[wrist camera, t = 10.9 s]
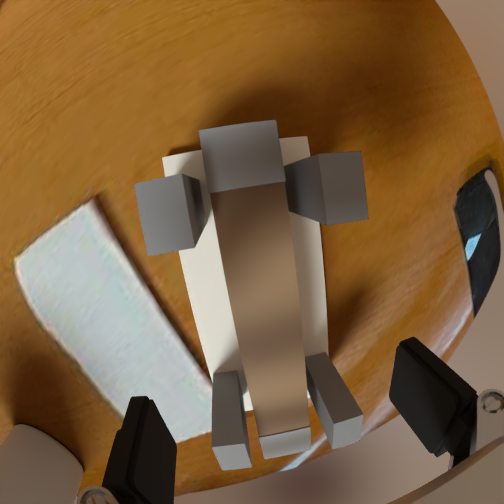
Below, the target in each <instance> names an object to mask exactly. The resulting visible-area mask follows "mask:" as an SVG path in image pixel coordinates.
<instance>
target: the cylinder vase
mask: <svg viewBox="0 0 504 504" xmlns="http://www.w3.org/2000/svg"><path fill="white" fill-rule="evenodd" d="M83 474H84V472H83V468H82V466H81V464H80V463H79V461H78V460H77V459H76V458H75V456H74V455H73V454H72V453H71V452H70V451H69V450H67V449H66V448H65V447H64V446H63V445H61V444H60V443H59V442H58V441H56V440H55V439H53V438H52V437H50V436H49V435H47V434H46V433H44V432H42V431H40V430H38V429H36V428H34V427H31V426H28V425H24V424H18V425H15V426H14V427H13V428H12V430H11V431H10V433H9V435H8V436H7V438H6V439H5V441H4V442H3V444H2V445H1V447H0V504H74V501H75V498H76V495H77V492H78V489H79V487H80V484H81V481H82V478H83Z"/></svg>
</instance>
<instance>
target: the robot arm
mask: <svg viewBox="0 0 504 504" xmlns="http://www.w3.org/2000/svg"><path fill="white" fill-rule="evenodd" d="M476 393H477V392H476V391H475V390H474V389H473V388H472V387H471V386H470V385H469V384H468V383H467V382H465V381H464V380H463V379H462V378H461V377H460V376H459V375H458V374H457V373H455V372H454V371H453V370H452V369H451V368H450V367H449V366H448V365H446V364H445V363H444V362H443V361H442V360H441V359H440V358H438V357H437V356H436V355H435V354H434V353H433V352H432V351H430V350H429V349H428V348H427V347H426V346H425V345H423V344H422V343H421V342H420V341H419V340H418V339H416V338H415V337H411V338H408V339H406V340H403V341H401V342H400V343H399V346H398V347H397V349H396V355H395V362H394V368H393V375H392V380H391V386H390V391H389V398H390V401H391V402H392V403H393V405H394V406H395V407H396V409H397V410H398V411H399V413H400V414H401V415H402V417H403V418H404V419H405V421H406V422H407V423H408V425H409V426H410V427H411V429H412V430H413V431H414V433H415V434H416V435H417V437H418V438H419V439H420V440H421V442H422V443H423V445H424V446H425V447H426V449H427V450H428V451H429V452H430V453H434V454H435V456H436V457H439V456H440V455H442V454H443V453H445V452H447V451H448V452H449V453H450V461H449V467H448V471H447V472H445V473H444V474H442V475H440V476H439V477H437V478H435V479H434V480H432V481H430V482H429V483H427V484H425V485H423V486H422V487H420V488H418V489H416V490H414V491H412V492H410V493H409V494H406V495H405V496H403V497H401V498H398V499H396V500H394V501H393V502H390V503H388V504H504V393H503V392H502V391H500V390H497V389H488V390H485V391H483V392H482V393H481V394H480V395H479V396H478V395H477V394H476ZM176 455H177V446H176V443H175V440H174V439H173V437H172V435H171V433H170V432H169V430H168V428H167V426H166V424H165V422H164V420H163V419H162V417H161V415H160V413H159V411H158V409H157V407H156V405H155V403H154V401H153V400H152V399H150V400H149V398H148V397H147V396H136V397H131V399H130V402H129V405H128V408H127V411H126V415H125V418H124V421H123V425H122V428H121V429H119V430H118V431H117V433H116V436H115V439H114V442H113V446H112V449H111V453H110V457H109V460H108V464H107V467H106V471H105V475H104V479H103V483H102V487H101V486H90V487H87V488H85V489H84V490H82V491H81V492H80V494H79V495H78V498H77V504H174V484H175V468H176Z"/></svg>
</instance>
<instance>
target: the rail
mask: <svg viewBox="0 0 504 504" xmlns="http://www.w3.org/2000/svg"><path fill="white" fill-rule="evenodd" d="M199 136H200V143H201V150H202V156H203V163H204V169H205V175H206V181H207V187H208V193H210V198H211V204H212V210H213V215H214V221H215V227H216V232H217V238H218V243H219V249H220V254H221V260H222V265H223V270H224V275H225V281H226V286H227V291H228V296H229V301H230V306H231V311H232V316H233V321H234V325H235V330H236V335H237V340H238V344H239V349H240V354H241V358H242V363H243V367H244V372H245V376H246V381H247V385H248V390H249V394H250V398H251V403H252V407H253V411H254V415H255V419H256V424H257V428H258V434H259V439H260V443H261V447H262V451H263V455H264V459H269V458H274V457H279V456H284V455H289V454H294V453H298V452H302V451H307V450H311V432H310V425H309V413H308V396H307V381H306V367H305V355H304V343H303V332H302V321H301V311H300V301H299V291H298V282H297V273H296V264H295V256H294V248H293V240H292V232H291V225H290V217H289V210H288V203H287V196H286V189H285V181H286V179H285V172H284V166H283V159H282V153H281V147H280V141H279V135H278V129H277V123H276V120H267V121H258V122H250V123H242V124H235V125H228V126H222V127H216V128H210V129H204V130H199Z"/></svg>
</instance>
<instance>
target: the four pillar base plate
mask: <svg viewBox="0 0 504 504" xmlns="http://www.w3.org/2000/svg"><path fill="white" fill-rule="evenodd" d="M279 141H280V147H281V153H282V159H283V166H284V172H285V179H286V181H285V189H286V196H287V203H288V210H289V217H290V225H291V232H292V240H293V248H294V256H295V264H296V273H297V282H298V291H299V301H300V311H301V321H302V332H303V343H304V355H305V367H306V381H307V396H308V398H311V400H312V402H313V404H314V407H315V409H316V412H317V414H318V416H319V419H320V421H321V424H322V426H323V428H324V431H325V433H326V436H327V438H328V440H329V443H330V445H331V447H332V449H336V448H339V447H342V446H345V445H348V444H351V443H354V442H357V441H359V440H360V434H361V428H362V422H363V415H364V414H363V413H362V411H361V409H360V408H359V406H358V404H357V403H356V401H355V399H354V398H353V396H352V394H351V393H350V391H349V389H348V388H347V386H346V385H345V383H344V381H343V380H342V378H341V376H340V375H339V373H338V371H337V370H336V368H335V366H334V365H333V363H332V361H331V360H330V358H329V356H328V328H327V308H326V292H325V278H324V266H323V254H322V244H321V234H320V225H319V223H322V224H325V225H327V226H328V225H334V224H340V223H347V222H353V221H359V220H366V219H368V208H367V197H366V188H365V180H364V172H363V164H362V158H361V151H352V152H336V153H323V154H316V155H313V156H310V151H309V145H308V139H307V136H301V137H290V138H280V139H279ZM162 159H163V166H164V172H165V177H163V178H158V179H154V180H149V181H145V182H141V183H136V184H134V186H135V192H136V198H137V204H138V209H139V214H140V220H141V225H142V230H143V235H144V239H145V244H146V248H147V253H148V256H152V255H158V254H163V253H169V252H174V251H179V254H180V259H181V263H182V268H183V272H184V277H185V281H186V285H187V290H188V294H189V298H190V302H191V306H192V310H193V314H194V318H195V322H196V326H197V330H198V333H199V337H200V341H201V344H202V348H203V352H204V355H205V359H206V362H207V365H208V369H209V372H210V376H211V379H212V382H213V392H212V449H213V451H214V453H215V455H216V458H217V460H218V462H219V464H220V466H221V468H222V470H232V469H241V468H249V467H252V463H251V455H250V448H249V440H248V432H247V424H246V416H245V411H248V410H253V407H252V403H251V398H250V394H249V390H248V385H247V381H246V376H245V372H244V367H243V363H242V358H241V354H240V349H239V344H238V340H237V335H236V330H235V325H234V321H233V316H232V311H231V306H230V301H229V296H228V291H227V286H226V281H225V275H224V270H223V265H222V260H221V254H220V249H219V243H218V238H217V232H216V227H215V221H214V215H213V210H212V204H211V198H210V193H208V187H207V181H206V175H205V169H204V163H203V156H202V150H197V151H192V152H187V153H182V154H177V155H172V156H168V157H163V158H162Z"/></svg>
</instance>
